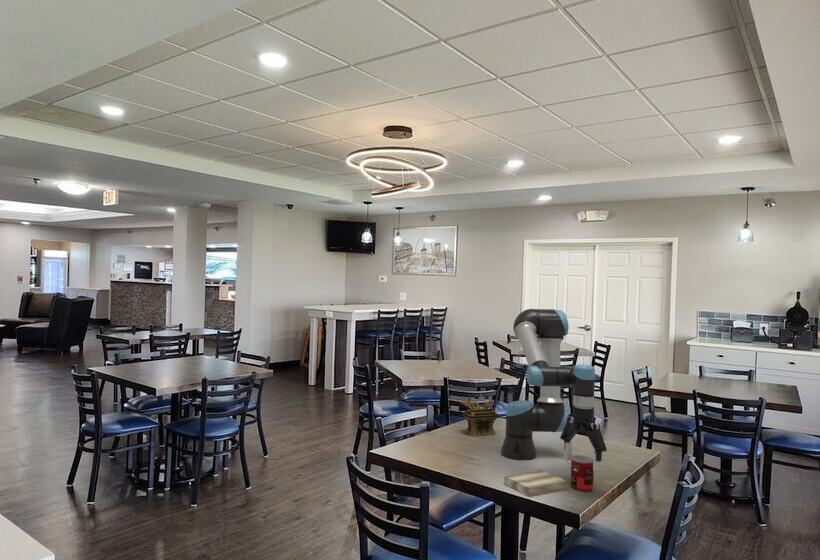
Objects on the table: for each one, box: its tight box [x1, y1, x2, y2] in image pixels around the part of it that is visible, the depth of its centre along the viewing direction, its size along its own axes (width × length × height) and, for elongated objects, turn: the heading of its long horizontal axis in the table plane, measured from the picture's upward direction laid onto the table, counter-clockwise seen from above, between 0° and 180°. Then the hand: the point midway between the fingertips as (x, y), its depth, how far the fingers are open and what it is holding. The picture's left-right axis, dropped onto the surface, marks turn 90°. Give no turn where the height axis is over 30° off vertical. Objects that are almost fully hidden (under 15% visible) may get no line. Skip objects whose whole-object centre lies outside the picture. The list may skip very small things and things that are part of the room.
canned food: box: [570, 454, 595, 492], centre depth 207 cm, size 8×8×11 cm
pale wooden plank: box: [503, 469, 568, 498], centre depth 206 cm, size 14×18×3 cm
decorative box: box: [459, 393, 500, 437], centre depth 281 cm, size 20×10×20 cm, turn 111°
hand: (582, 464), depth 206 cm, fingers open, 13 cm apart
